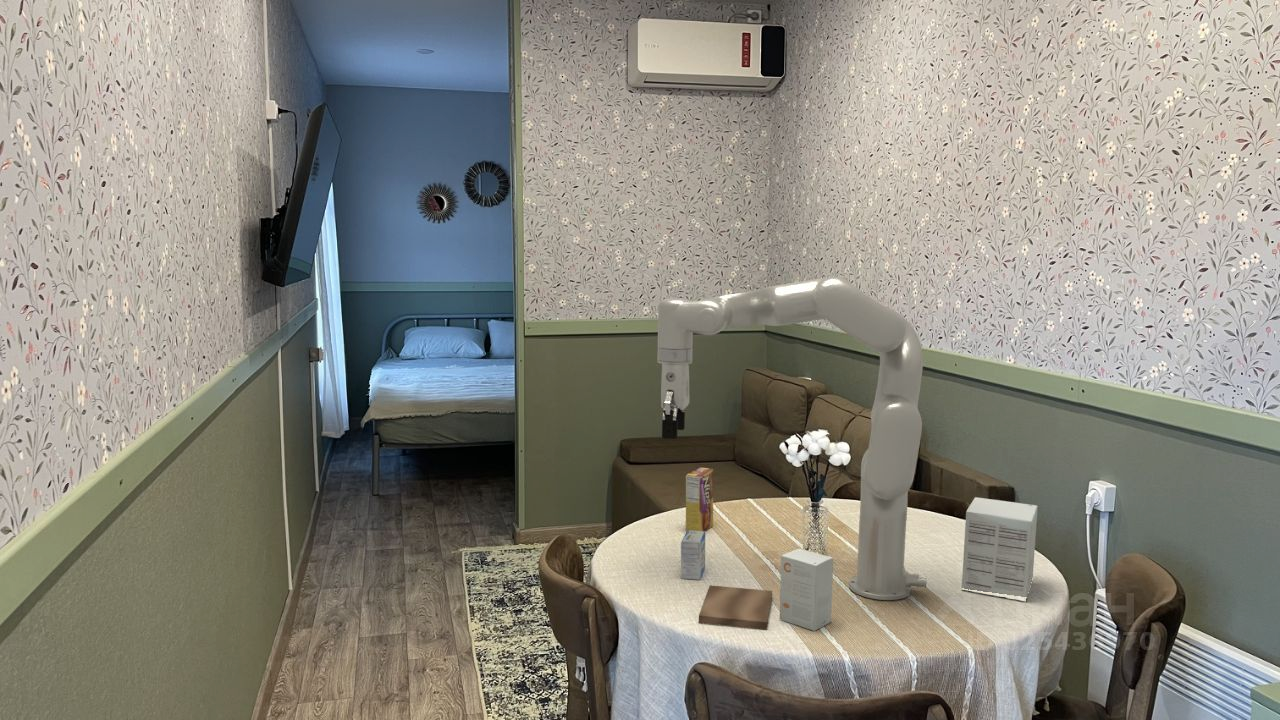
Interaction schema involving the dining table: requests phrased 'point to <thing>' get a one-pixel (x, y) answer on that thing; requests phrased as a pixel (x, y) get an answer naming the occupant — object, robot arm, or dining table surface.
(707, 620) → the walnut board
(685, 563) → the medicine box
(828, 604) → the small box
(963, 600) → the dining table surface
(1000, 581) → the supplement box
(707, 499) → the candy box
